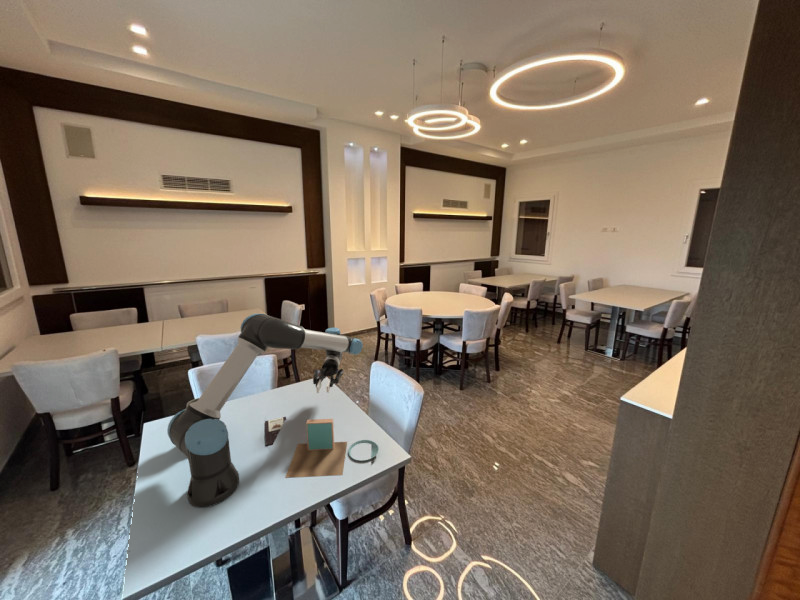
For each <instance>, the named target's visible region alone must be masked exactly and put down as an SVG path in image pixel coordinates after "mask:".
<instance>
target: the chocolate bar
mask: <svg viewBox="0 0 800 600" xmlns="http://www.w3.org/2000/svg"><path fill="white" fill-rule="evenodd" d="M285 421H287V416H282V417H279V418H274V419H269V420H265V421H264V425H265V428H264V429H265V430H264V431H265V447H268V446H271V445H274V443H275V442H276V440H277V438H278V435H279V433H280V431H281V429H282V427H283V425H284V423H285Z"/></svg>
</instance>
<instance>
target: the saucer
mask: <svg viewBox="0 0 800 600" xmlns="http://www.w3.org/2000/svg"><path fill="white" fill-rule="evenodd" d="M360 444H369V445H371V453H370V458H368V459H363V460H359V459H356V458H354V457H353V456H352V453H351V451H352V449H353V448H354V447H355V446H358V445H360ZM347 451H348V455H349V457H350V459H353V460H354V461H357V462H367V461H370V460H371V459H373V458H375V457H376V455H378V453H379V451H380V450H379V445H378V444H377V443H376V442H374V441H372V440H369V439H362V440H358V441H356V442H354V443H352V444H351V445H350V446H349V448H348V450H347Z"/></svg>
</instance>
